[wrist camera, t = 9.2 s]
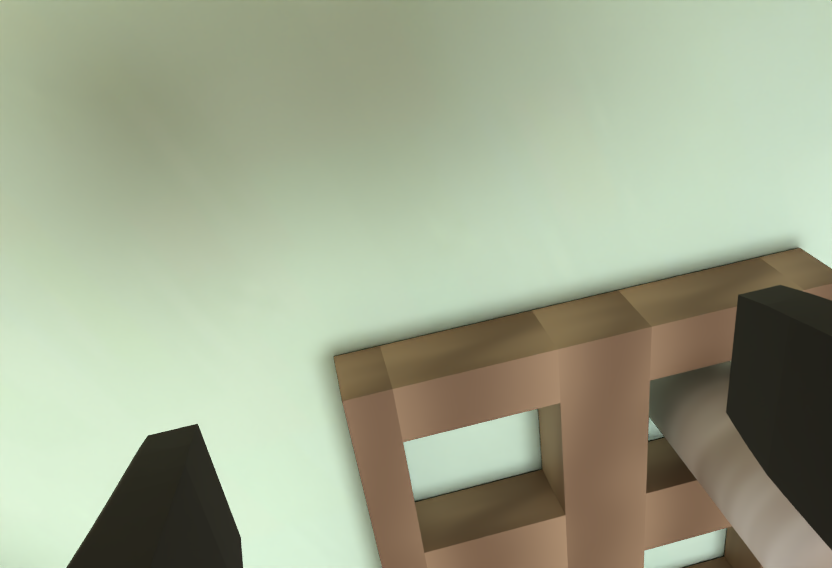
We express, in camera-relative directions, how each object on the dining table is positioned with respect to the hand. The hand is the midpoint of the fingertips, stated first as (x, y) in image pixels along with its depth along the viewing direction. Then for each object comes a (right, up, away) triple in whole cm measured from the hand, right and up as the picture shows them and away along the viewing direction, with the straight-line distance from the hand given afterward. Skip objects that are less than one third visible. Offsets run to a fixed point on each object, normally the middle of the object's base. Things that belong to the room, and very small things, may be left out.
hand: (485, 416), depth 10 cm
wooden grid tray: (+5, -5, +15) cm, 16 cm away
